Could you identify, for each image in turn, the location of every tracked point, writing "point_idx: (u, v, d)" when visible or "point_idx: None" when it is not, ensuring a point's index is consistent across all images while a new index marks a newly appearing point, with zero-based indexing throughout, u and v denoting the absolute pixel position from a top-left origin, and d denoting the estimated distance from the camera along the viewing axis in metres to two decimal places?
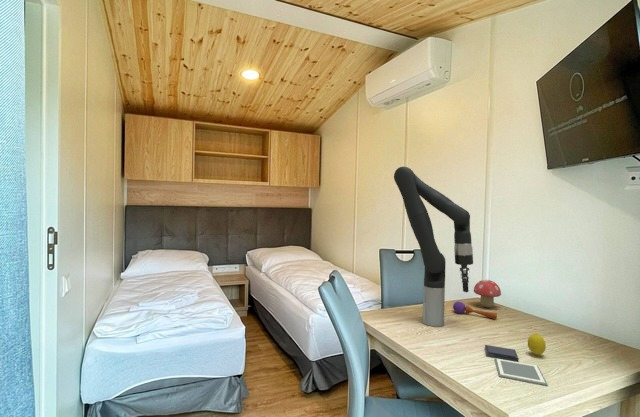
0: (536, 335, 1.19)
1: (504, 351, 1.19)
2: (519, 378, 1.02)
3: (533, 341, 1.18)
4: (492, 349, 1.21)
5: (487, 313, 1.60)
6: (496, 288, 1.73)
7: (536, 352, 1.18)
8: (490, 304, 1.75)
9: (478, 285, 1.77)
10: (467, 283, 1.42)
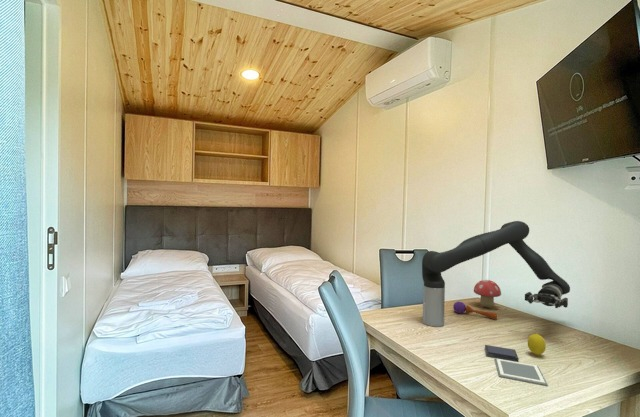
0: (536, 335, 1.19)
1: (504, 351, 1.19)
2: (519, 378, 1.02)
3: (533, 341, 1.18)
4: (492, 349, 1.21)
5: (487, 313, 1.60)
6: (496, 288, 1.73)
7: (536, 352, 1.18)
8: (490, 304, 1.75)
9: (478, 285, 1.77)
10: None
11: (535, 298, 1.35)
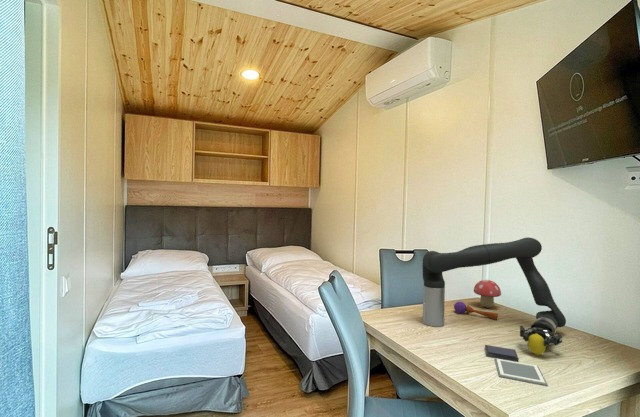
0: (536, 335, 1.19)
1: (504, 351, 1.19)
2: (519, 378, 1.02)
3: (533, 341, 1.18)
4: (492, 349, 1.21)
5: (488, 313, 1.60)
6: (496, 288, 1.73)
7: (536, 352, 1.18)
8: (490, 304, 1.75)
9: (478, 285, 1.77)
10: None
11: (530, 334, 1.24)
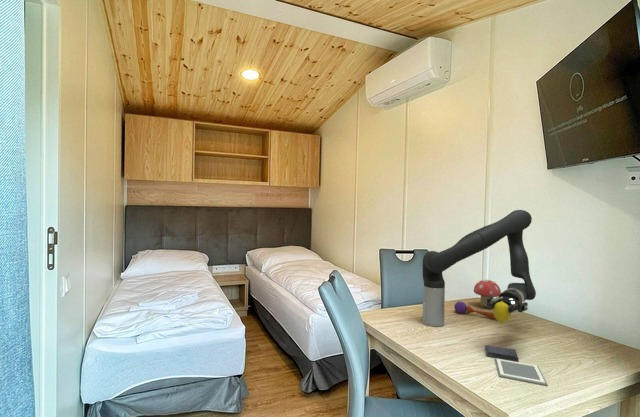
0: (501, 303, 1.19)
1: (504, 351, 1.19)
2: (519, 378, 1.02)
3: (498, 309, 1.19)
4: (492, 349, 1.21)
5: (488, 314, 1.60)
6: (496, 288, 1.73)
7: (501, 319, 1.18)
8: None
9: (478, 285, 1.77)
10: None
11: None
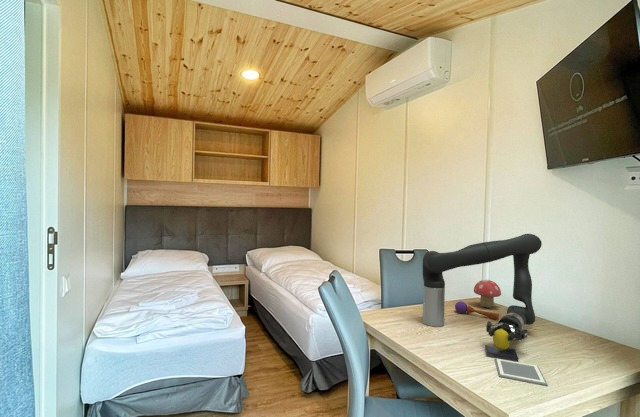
0: (501, 330, 1.19)
1: (504, 351, 1.19)
2: (519, 378, 1.02)
3: (498, 336, 1.19)
4: (492, 349, 1.21)
5: (489, 314, 1.60)
6: (496, 288, 1.73)
7: (500, 347, 1.18)
8: (490, 304, 1.75)
9: (478, 285, 1.77)
10: None
11: (496, 329, 1.24)
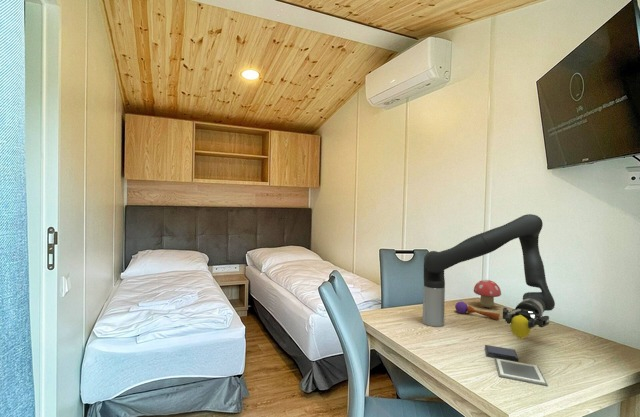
0: (519, 316, 1.07)
1: (504, 351, 1.19)
2: (519, 378, 1.02)
3: (516, 323, 1.06)
4: (492, 349, 1.21)
5: (489, 314, 1.59)
6: (496, 288, 1.73)
7: (519, 335, 1.06)
8: (490, 304, 1.75)
9: (478, 285, 1.77)
10: None
11: (514, 316, 1.12)
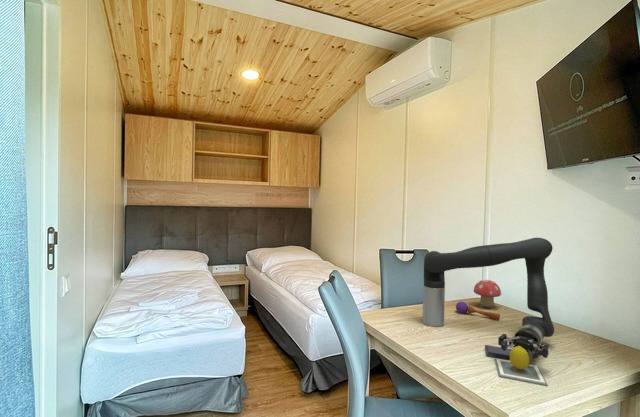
0: (518, 348, 1.07)
1: (504, 351, 1.19)
2: (519, 378, 1.02)
3: (515, 355, 1.06)
4: (492, 349, 1.21)
5: (489, 314, 1.59)
6: (496, 288, 1.73)
7: (518, 367, 1.06)
8: (490, 304, 1.75)
9: (478, 285, 1.77)
10: None
11: (510, 343, 1.13)
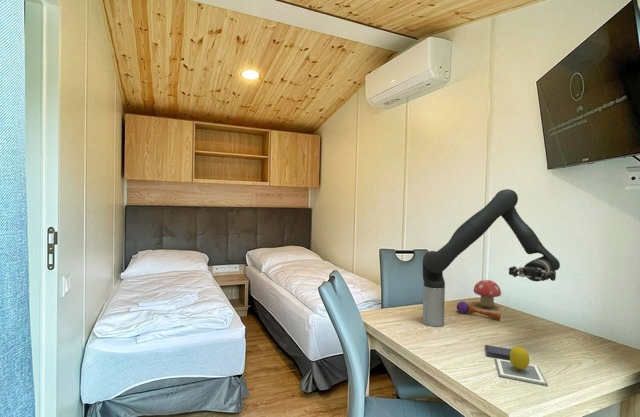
0: (519, 348, 1.07)
1: (504, 351, 1.19)
2: (519, 378, 1.02)
3: (516, 355, 1.06)
4: (492, 349, 1.21)
5: (490, 314, 1.59)
6: (496, 288, 1.73)
7: (518, 367, 1.06)
8: (490, 304, 1.75)
9: (478, 285, 1.77)
10: None
11: (520, 272, 1.22)
